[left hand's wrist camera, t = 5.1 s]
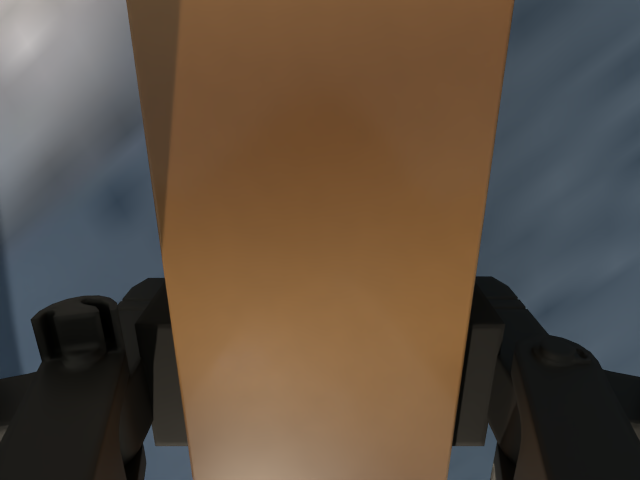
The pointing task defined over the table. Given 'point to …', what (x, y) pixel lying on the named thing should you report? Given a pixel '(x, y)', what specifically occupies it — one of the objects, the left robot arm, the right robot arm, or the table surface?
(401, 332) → the beam
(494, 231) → the table surface
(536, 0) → the table surface
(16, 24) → the table surface
